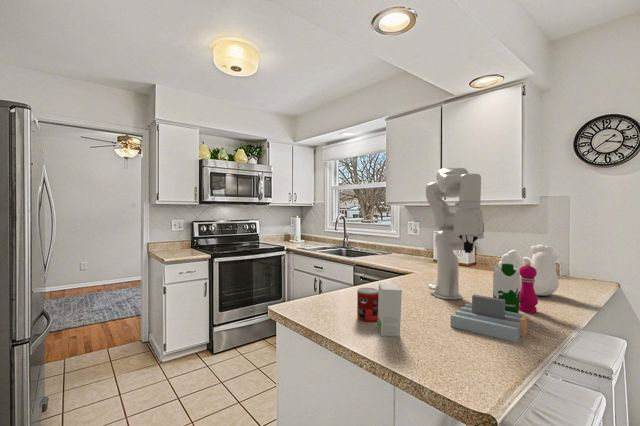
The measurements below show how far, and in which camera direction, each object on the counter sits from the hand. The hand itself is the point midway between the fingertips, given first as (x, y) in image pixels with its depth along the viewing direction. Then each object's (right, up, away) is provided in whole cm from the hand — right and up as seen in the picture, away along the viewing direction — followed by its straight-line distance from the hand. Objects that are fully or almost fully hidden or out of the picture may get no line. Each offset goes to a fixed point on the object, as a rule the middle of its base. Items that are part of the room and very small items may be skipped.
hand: (468, 252), depth 122 cm
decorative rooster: (+46, -25, +35) cm, 63 cm away
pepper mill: (+27, -25, +6) cm, 37 cm away
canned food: (-40, -25, -5) cm, 47 cm away
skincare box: (-35, -25, -17) cm, 46 cm away
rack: (+2, -25, -12) cm, 27 cm away
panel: (+2, -24, -11) cm, 26 cm away
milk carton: (+16, -25, +2) cm, 30 cm away
